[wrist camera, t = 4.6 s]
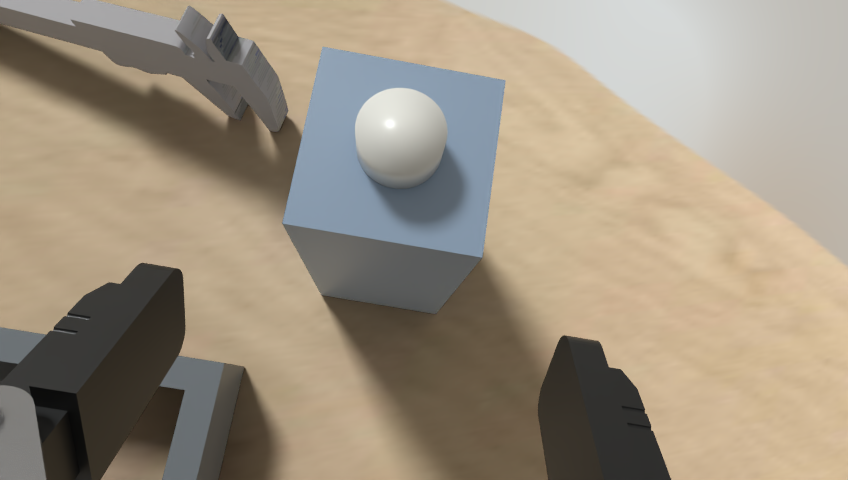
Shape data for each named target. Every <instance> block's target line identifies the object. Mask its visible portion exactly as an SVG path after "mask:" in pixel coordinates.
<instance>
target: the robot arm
mask: <svg viewBox="0 0 848 480" xmlns="http://www.w3.org/2000/svg"><path fill="white" fill-rule="evenodd" d="M184 336H185V308H184V286H183V275H182V272H181V270H180V269H176V268H171V267H165V266H159V265H153V264H147V263H140V264H139V265H138V266H136V267H135V269H134V270H133V271H132V272H131V273H130V274H129V275H128V276H127V277H126V279H125V280H124V281H123V282H122V283H121V284H116V283H110V282H109V283H107V284H105V285H103V286H101V287H100V288H98V289H96V290H94V291H92V292H90V293H88V294H86V295H85V296H84V297H83V298H82V299H81V300H80V301H79V302H78V303H77V304H76V305H75V306H74V307H73V308H72V309H71V310H70V311H69V312H68V315H67V317H66V316H64V317H63V318H62V319H61V320H60V321H59V322H58V323H57V324H56V325H55V326H54V330H53V331H50V332H49V333H48V334H47V335H46V336H45V337H44V338H43V339H42V340H41V341H40V342H39V343H38V344H37V345H36V346H35V347H34V348H33V349H32V350H31V351H30V352H29V353H28V354H27V355H26V356H25V358H24V359H23V360H22V361H21V362H20V363H19V364H18V365H17V366H16V367H15V368H14V369H13V370H12V371H11V372H10V373H9V374H8V375H7V376H6V377H5V378H4V379H3V380H2V381H1V382H0V480H101V478H102V476H103V475H104V473H105V472H106V470H107V468H108V467H109V465H110V464H111V462H112V461H113V459H114V457H115V456H116V454H117V453H118V451H119V449H120V448H121V446H122V445H123V443H124V441H125V440H126V438H127V437H128V435H129V433H130V432H131V430H132V429H133V427H134V425H135V424H136V422H137V421H138V419H139V417H140V416H141V414H142V413H143V411H144V409H145V408H146V406H147V405H148V403H149V401H150V400H151V398H152V397H153V395H154V394H155V392H156V390H157V389H158V387H159V386H160V384H161V382H162V381H163V379H164V378H165V376H166V374H167V373H168V371H169V370H170V368H171V366H172V365H173V363H174V362H175V360H176V358H177V357H178V355H179V353H180V350H181V348H182V344H183V341H184ZM538 417H539V424H540V430H541V436H542V442H543V449H544V455H545V461H546V468H547V474H548V480H671V478H670V475H669V473H668V470H667V467H666V465H665V462H664V459H663V457H662V454H661V451H660V449H659V446H658V443H657V441H656V438H655V435H654V432H653V431H651V424H650V422H649V419H648V416H647V414H645V408H644V406H643V403H642V400H641V398H640V395H639V392H638V390H637V388H636V387H635V386H634V385H633V383H632V382H631V381H630V380H629V379H628V377H627V376H626V375H625V374H624V373H623V371H622V370H621V369H615V368H609V367H608V364H607V361H606V358H605V354H604V351H603V348H602V346H601V344H600V342H598V341H594V340H588V339H582V338H577V337H571V336H565V335H564V336H562V337H561V338H560V340H559V342H558V344H557V347H556V350H555V352H554V355H553V358H552V360H551V363H550V366H549V368H548V371H547V374H546V376H545V379H544V382H543V385H542V387H541V391H540V396H539V403H538Z"/></svg>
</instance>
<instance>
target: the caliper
mask: <svg viewBox="0 0 848 480" xmlns="http://www.w3.org/2000/svg"><path fill="white" fill-rule="evenodd" d="M0 24H4V25H7V26H11V27H15V28H18V29H22V30H26V31H29V32H33V33H37V34H40V35H44V36H48V37H51V38H55V39H59V40H62V41H66V42H70V43H73V44H77V45H81V46H84V47H88V48H92V49H95V50H99V51H102V52H103V53H104V54H105V55H106V56H108V57H109V58H110V59H111V60H112V61H113V62H114V63H116V64H118V65H120V66H126V67H133V68H137V69H140V70H142V71H144V72H147V73H151V74H166V75H167V73H169V74H172V75H176V76H180V77H182V78H183V79H185V80H186V81H187V82H188V83H189V84H191V85H192V86H193V87H194V88H195V89H197V90H198V91H199V92H200V93H201V94H203V95H204V96H205V97H206V98H207V99H209V100H210V101H211V102H212V103H213V104H215V105H216V106H217V107H218V108H219V109H221V110H222V111H223V112H224V113H225V114H226V115H228V116H229V117H232V118H235V119H238V120H241V118H242V116H243V114H244V112H245V110H246V108H247V106H248V104H249V106H250V107H251V108H252V109H253V110H254V112H255V113H256V114H257V115H258V117H259V118H260V119H261V120H262V122H263V123H264V124H265V125H266V127H267V128H268V129H269V131H273V132H277V131H279V130H280V128H281V126H282V123H283V121H284V119H285V117H286V115H287V113H288V107H287V103H286V100H285V97H284V94H283V90H282V87H281V84H280V81H279V78H278V76H277V74H276V73H275V71H274V70H273V68H272V67H271V65H270V64H269V63H268V61H267V60H266V58H265V57H264V55H263V54H262V52H261V51H260V50H259V48H258V47H257V45H256V44H255V42H254V41H252V40H248V39H245V38H241V37H238V36H237V34H236V33H235V31H234V30H233V28H232V27H231V25H230V24H229V22H228V21H227V19H226V18H225V16H224V15H223V14H219V16H218V18H217V20H216V21H215V23H214V25H213V24H212V23H210V22H209V21H208V20H207V19H206V18H205V17H203V16H202V15H201V14H200V13H199V12H197V11H196V10H195V9H194V8H192V7H191V6H188V7H187V9H186V10H185V12H184V14H183V16H182V18H181V20H180V21H179V20H175V19H171V18H167V17H163V16H159V15H155V14H151V13H147V12H142V11H138V10H134V9H130V8H126V7H122V6H118V5H114V4H110V3H105V2H101V1H97V0H82V1H81V2H76V1H72V0H0Z"/></svg>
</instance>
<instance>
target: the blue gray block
mask: <svg viewBox="0 0 848 480" xmlns="http://www.w3.org/2000/svg"><path fill="white" fill-rule="evenodd" d="M504 88H505V80H501V79H495V78H490V77H484V76H479V75H473V74H468V73H463V72H457V71H452V70H446V69H441V68H435V67H430V66H425V65H419V64H414V63H408V62H403V61H397V60H392V59H387V58H381V57H376V56H370V55H365V54H359V53H354V52H349V51H343V50H338V49H332V48H327V47H322V51H321V56H320V60H319V65H318V69H317V73H316V78H315V82H314V87H313V91H312V95H311V100H310V104H309V108H308V113H307V117H306V122H305V126H304V130H303V135H302V139H301V144H300V148H299V152H298V157H297V161H296V165H295V170H294V174H293V179H292V183H291V187H290V192H289V196H288V201H287V205H286V209H285V214H284V218H283V222H282V224H283V226H284V228H285V229H286V231H287V233H288V235H289V237H290V239H291V240H292V242H293V244H294V246H295V248H296V249H297V251H298V253H299V255H300V257H301V259H302V260H303V262H304V264H305V266H306V268H307V270H308V271H309V273H310V275H311V277H312V279H313V281H314V282H315V284H316V286H317V288H318V290H319V292H320V293H321V295H323V296H329V297H335V298H342V299H348V300H354V301H360V302H366V303H372V304H378V305H384V306H390V307H396V308H402V309H408V310H414V311H420V312H426V313H432V314H436V313H437V312H438V311H439V310H440V308H441V307H442V306H443V305H444V304H445V302H446V301H447V300H448V299H449V297H450V296H451V295H452V294H453V293H454V291H455V290H456V289H457V288H458V287H459V285H460V284H461V283H462V282H463V280H464V279H465V278H466V277H467V276H468V274H469V273H470V272H471V271H472V270H473V268H474V267H475V266H476V265H477V263H478V262H479V261H480V260H481V259H482V256H483V249H484V241H485V233H486V226H487V218H488V210H489V203H490V195H491V187H492V180H493V172H494V164H495V157H496V149H497V141H498V134H499V126H500V118H501V111H502V103H503V95H504Z"/></svg>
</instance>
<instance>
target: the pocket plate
mask: <svg viewBox="0 0 848 480" xmlns="http://www.w3.org/2000/svg"><path fill="white" fill-rule="evenodd" d="M45 336H46V335H45V334H38V333H32V332H26V331H20V330H13V329H7V328H1V327H0V382H1V381H2V380H3V379H4V378H5V377H6V376H7V375H8V374H9V373H10V372H11V371H12V370H13V369H14V368H15V367H16V366H17V365H18V364H19V363H20V362H21V361H22V360H23V359H24V358H25V356H26V355H27V354H28V353H29V352H30V351H31V350H32V349H33V348H34V347H35V346H36V345H37V344H38V343H39V342H40V341H41V340H42V339H43V338H44V337H45ZM243 370H244V367H243V366H237V365H232V364H226V363H220V362H214V361H208V360H201V359H195V358H189V357H183V356H178V357H177V358H176V360H175V362H174V363H173V365H172V366H171V368H170V370H169V371H168V373H167V374H166V376H165V378H164V379H163V381H162V382H161V384H160V386H162V387H169V388H175V389H181V390H185V392H184V396H183V400H182V404H181V408H180V412H179V416H178V419H177V423H176V427H175V431H174V435H173V439H172V443H171V447H170V451H169V455H168V459H167V463H166V467H165V471H164V475H163V478H162V480H218V479H219V475H220V470H221V466H222V461H223V457H224V453H225V448H226V444H227V440H228V435H229V431H230V427H231V422H232V418H233V414H234V409H235V405H236V401H237V396H238V392H239V388H240V383H241V379H242V375H243Z"/></svg>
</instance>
